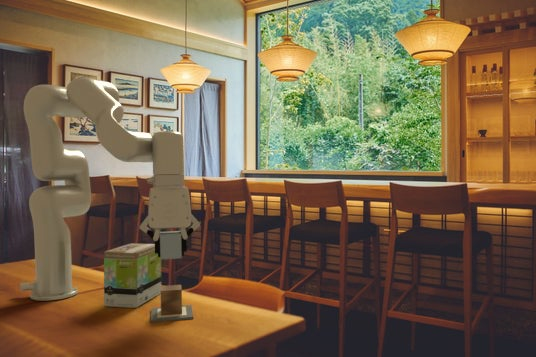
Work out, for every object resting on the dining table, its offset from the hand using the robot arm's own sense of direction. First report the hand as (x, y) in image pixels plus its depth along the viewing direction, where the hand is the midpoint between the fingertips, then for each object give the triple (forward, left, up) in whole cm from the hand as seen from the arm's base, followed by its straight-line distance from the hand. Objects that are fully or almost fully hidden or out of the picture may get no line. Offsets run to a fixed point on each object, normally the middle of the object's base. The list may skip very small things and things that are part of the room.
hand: (171, 254), depth 118 cm
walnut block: (0, 0, -14) cm, 14 cm away
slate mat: (0, 0, -15) cm, 15 cm away
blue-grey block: (0, 0, -1) cm, 1 cm away
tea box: (-10, +16, -15) cm, 24 cm away
